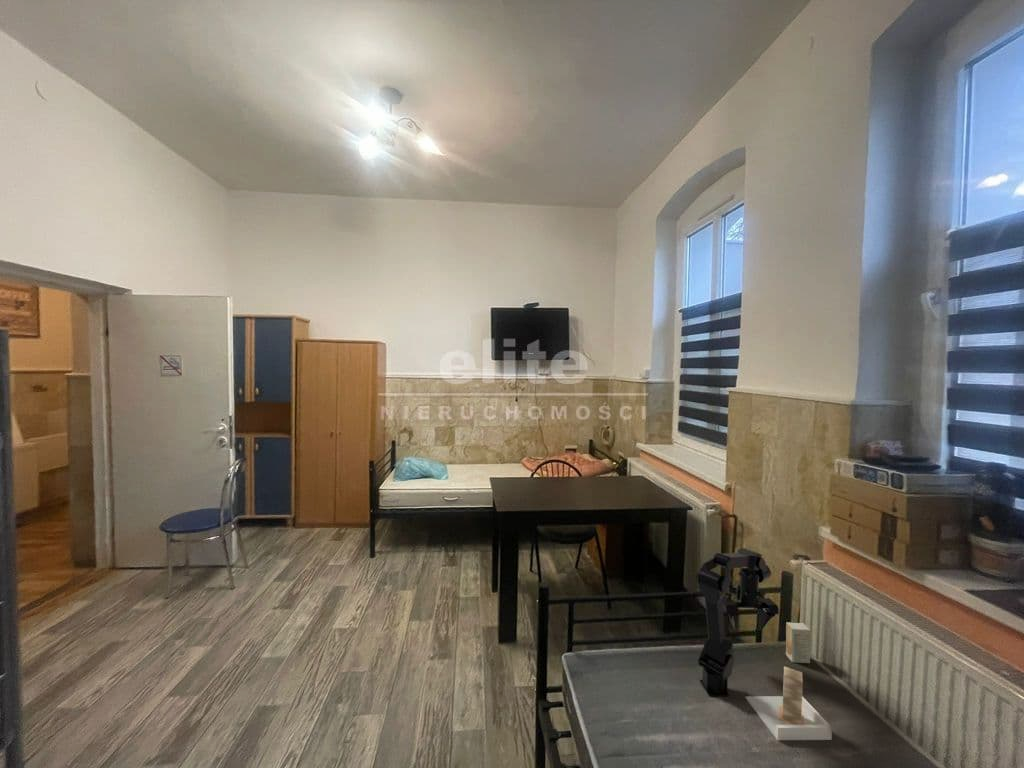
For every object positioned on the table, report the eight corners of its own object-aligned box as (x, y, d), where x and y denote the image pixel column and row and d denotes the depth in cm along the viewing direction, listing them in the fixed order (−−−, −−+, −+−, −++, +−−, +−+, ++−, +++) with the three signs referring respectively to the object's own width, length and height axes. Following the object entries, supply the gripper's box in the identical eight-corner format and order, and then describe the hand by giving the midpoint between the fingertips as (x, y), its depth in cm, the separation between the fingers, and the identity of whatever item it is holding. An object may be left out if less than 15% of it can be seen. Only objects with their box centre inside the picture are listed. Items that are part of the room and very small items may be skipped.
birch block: (782, 718, 123) (784, 675, 122) (782, 708, 126) (784, 666, 126) (800, 725, 120) (802, 681, 120) (800, 715, 124) (802, 672, 124)
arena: (777, 740, 116) (778, 727, 116) (745, 698, 131) (745, 687, 131) (831, 739, 116) (832, 727, 116) (793, 698, 131) (793, 687, 131)
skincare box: (803, 655, 152) (804, 622, 152) (810, 664, 147) (811, 630, 147) (784, 654, 152) (785, 621, 152) (791, 662, 148) (792, 628, 148)
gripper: (760, 575, 155) (759, 616, 155) (711, 574, 154) (710, 616, 155) (780, 590, 144) (779, 635, 144) (727, 590, 143) (726, 635, 144)
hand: (747, 629), depth 147 cm, fingers open, 9 cm apart
